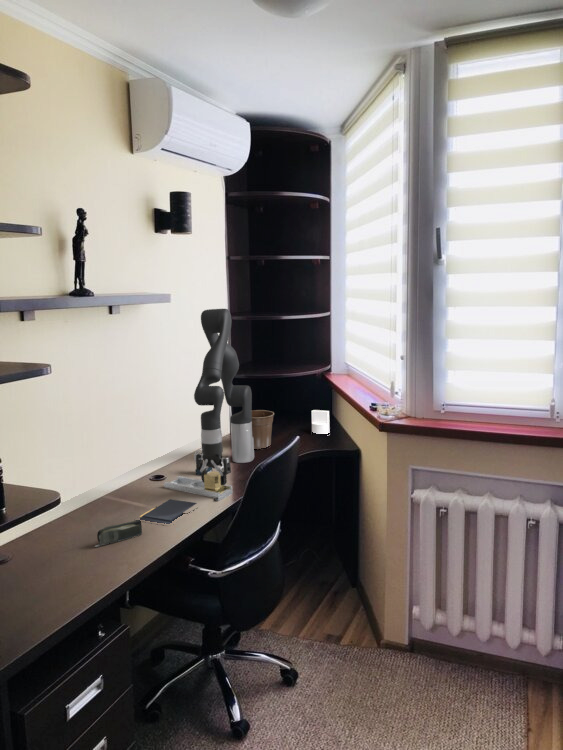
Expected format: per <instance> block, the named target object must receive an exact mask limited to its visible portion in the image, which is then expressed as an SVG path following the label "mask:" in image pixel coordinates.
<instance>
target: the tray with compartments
mask: <svg viewBox="0 0 563 750" xmlns="http://www.w3.org/2000/svg"><path fill="white" fill-rule="evenodd" d="M163 486H164V487H163V488H166V489H170V490H174V491H180V492H185V493H189V494H195V495H199V496H205V497H208V498H213V501H215V500H216V501H215V502H220V501H221V500H224V499H225V498H228V497H229V496H231V495H233V485H230V484H225V485H224V491H222V492H221V493H220V492H216V491H211V490H206V489H205V486H204V482H203V481H202V479H197V478H193V477H187V476H182V475H177V477H176V479H173V480H171V481H163Z"/></svg>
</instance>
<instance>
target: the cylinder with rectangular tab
mask: <svg viewBox="0 0 563 750" xmlns="http://www.w3.org/2000/svg"><path fill="white" fill-rule="evenodd" d="M330 429H331V427H330V410H322V409H321V410H320V409H313V410H311V433H312V432H313V433H316V434H328V433H330V432H331V431H330ZM330 434H331V433H330Z"/></svg>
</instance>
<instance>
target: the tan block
mask: <svg viewBox="0 0 563 750" xmlns="http://www.w3.org/2000/svg"><path fill="white" fill-rule="evenodd" d="M220 476H221V475H220V473H219V472H218V471H214V470H212V471H211V472H209V473H207V474H205V475H204V486H205V489H206V490H211V491H216V492H220V493H221V492H222V491H224V485H223V486H222V485H221V480H220Z"/></svg>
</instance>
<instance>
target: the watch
mask: <svg viewBox="0 0 563 750" xmlns="http://www.w3.org/2000/svg"><path fill="white" fill-rule="evenodd" d="M199 453H202V448H199V449H197V450H195V452H194V454H193V459H194V462H195V464H196V455H197V454H199ZM202 454H203V453H202ZM199 466H200V464H199ZM194 471H195V475H196V476H201V472H200V470H197V469H196V468H195V470H194ZM206 471H207V473H209V472H211V471H213V468H212V467H210V468H209V467H208V468H207V470H206Z"/></svg>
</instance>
